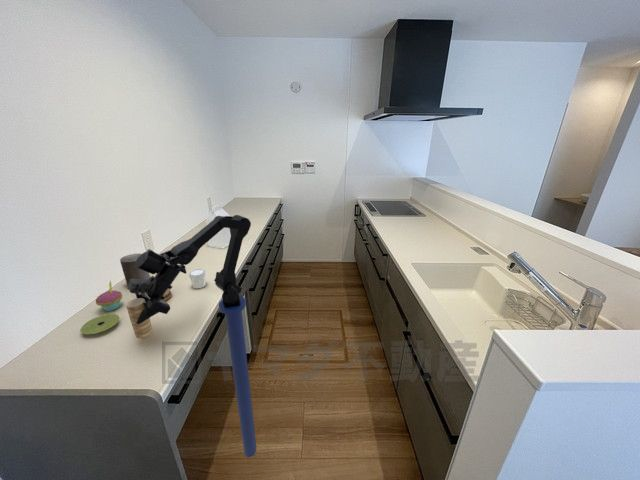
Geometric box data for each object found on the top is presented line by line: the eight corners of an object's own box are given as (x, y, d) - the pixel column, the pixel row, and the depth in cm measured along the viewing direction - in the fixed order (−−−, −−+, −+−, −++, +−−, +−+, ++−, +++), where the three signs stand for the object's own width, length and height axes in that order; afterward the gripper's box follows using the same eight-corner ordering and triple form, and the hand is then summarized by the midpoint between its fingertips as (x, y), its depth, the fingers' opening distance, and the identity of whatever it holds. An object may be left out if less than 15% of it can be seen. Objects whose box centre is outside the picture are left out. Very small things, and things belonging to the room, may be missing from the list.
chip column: (154, 327, 94) (146, 296, 89) (151, 337, 89) (142, 305, 84) (138, 330, 92) (128, 299, 87) (133, 340, 88) (123, 308, 83)
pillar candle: (126, 290, 120) (118, 261, 115) (127, 281, 128) (119, 253, 122) (151, 284, 125) (144, 256, 119) (151, 276, 133) (144, 249, 127)
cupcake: (120, 299, 114) (112, 274, 109) (128, 306, 109) (120, 281, 105) (95, 308, 107) (86, 283, 103) (103, 316, 103) (94, 290, 98)
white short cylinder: (208, 286, 124) (206, 273, 122) (193, 290, 121) (190, 277, 118) (205, 280, 130) (203, 267, 127) (190, 284, 126) (187, 271, 123)
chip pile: (173, 290, 121) (172, 284, 119) (170, 302, 112) (168, 296, 111) (150, 294, 118) (148, 288, 117) (144, 306, 109) (142, 299, 108)
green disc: (100, 340, 91) (99, 335, 90) (73, 335, 93) (71, 331, 92) (128, 319, 101) (126, 315, 101) (103, 316, 103) (101, 312, 102)
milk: (223, 248, 167) (218, 208, 157) (208, 246, 170) (202, 207, 161) (234, 242, 177) (230, 204, 168) (220, 239, 181) (215, 202, 171)
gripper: (133, 260, 91) (102, 301, 87) (151, 280, 79) (117, 327, 75) (162, 273, 99) (135, 310, 95) (183, 292, 87) (153, 335, 84)
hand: (135, 319), depth 87 cm, fingers closed on chip column, 5 cm apart
